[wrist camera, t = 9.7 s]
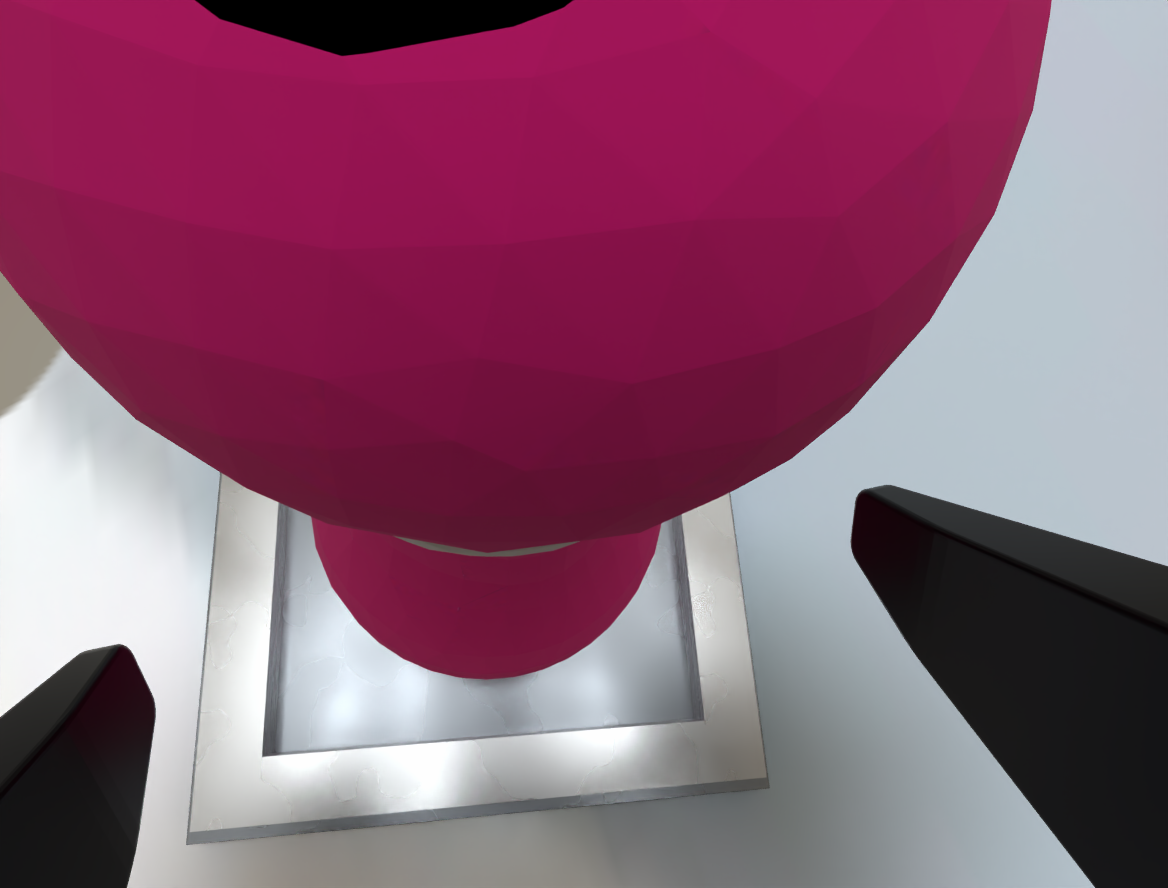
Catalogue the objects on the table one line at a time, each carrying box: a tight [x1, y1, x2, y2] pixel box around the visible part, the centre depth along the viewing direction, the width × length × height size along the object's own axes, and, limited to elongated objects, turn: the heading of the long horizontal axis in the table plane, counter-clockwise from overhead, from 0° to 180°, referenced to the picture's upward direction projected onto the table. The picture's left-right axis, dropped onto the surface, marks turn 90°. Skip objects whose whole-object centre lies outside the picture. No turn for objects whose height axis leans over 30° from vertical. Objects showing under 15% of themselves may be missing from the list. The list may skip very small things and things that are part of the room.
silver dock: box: [186, 472, 769, 845], centre depth 19 cm, size 14×14×2 cm
